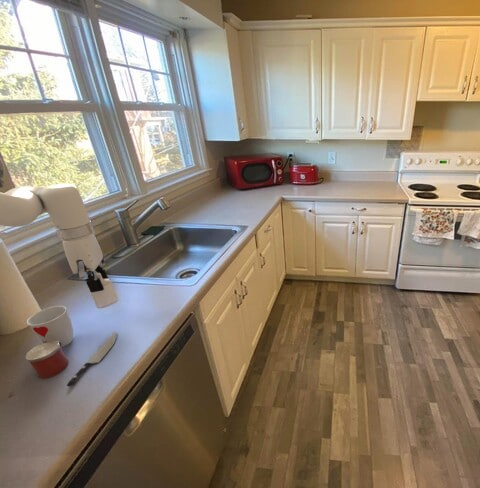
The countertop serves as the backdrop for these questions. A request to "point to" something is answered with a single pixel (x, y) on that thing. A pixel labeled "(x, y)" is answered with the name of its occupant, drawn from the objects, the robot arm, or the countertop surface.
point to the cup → (52, 325)
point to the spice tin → (47, 359)
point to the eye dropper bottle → (104, 294)
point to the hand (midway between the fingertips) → (100, 285)
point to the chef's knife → (95, 357)
